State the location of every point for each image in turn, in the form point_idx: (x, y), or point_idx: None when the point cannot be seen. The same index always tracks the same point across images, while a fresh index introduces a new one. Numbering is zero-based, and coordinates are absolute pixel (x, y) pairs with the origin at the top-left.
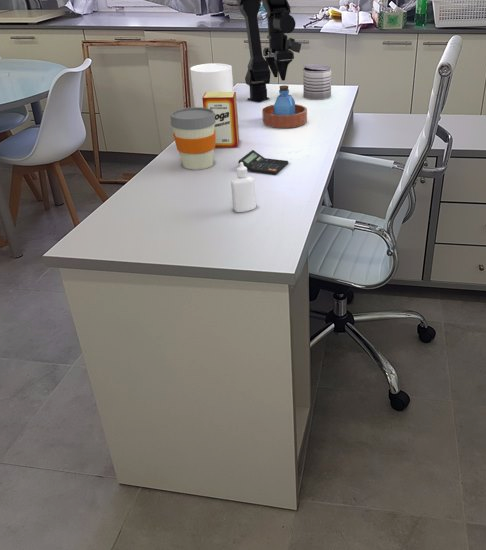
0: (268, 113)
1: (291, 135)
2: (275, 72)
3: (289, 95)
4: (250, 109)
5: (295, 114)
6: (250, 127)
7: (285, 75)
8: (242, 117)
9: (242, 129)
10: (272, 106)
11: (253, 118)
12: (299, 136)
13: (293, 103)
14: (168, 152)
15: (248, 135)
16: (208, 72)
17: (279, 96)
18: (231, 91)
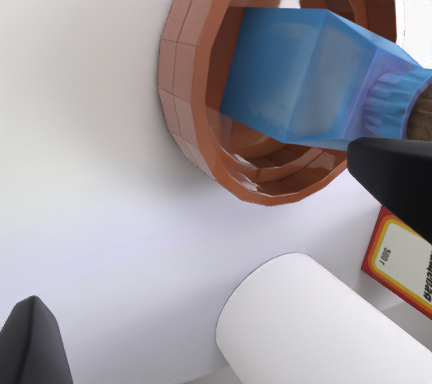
0: (343, 162)
1: (406, 41)
2: (50, 373)
3: (382, 61)
4: (4, 308)
5: (400, 17)
6: (292, 209)
7: (424, 144)
8: (166, 283)
9: (304, 228)
10: (223, 168)
11: (185, 234)
12: (424, 7)
13: (358, 25)
14: (382, 309)
15: (356, 192)
16: None
17: (376, 135)
18: (418, 350)
